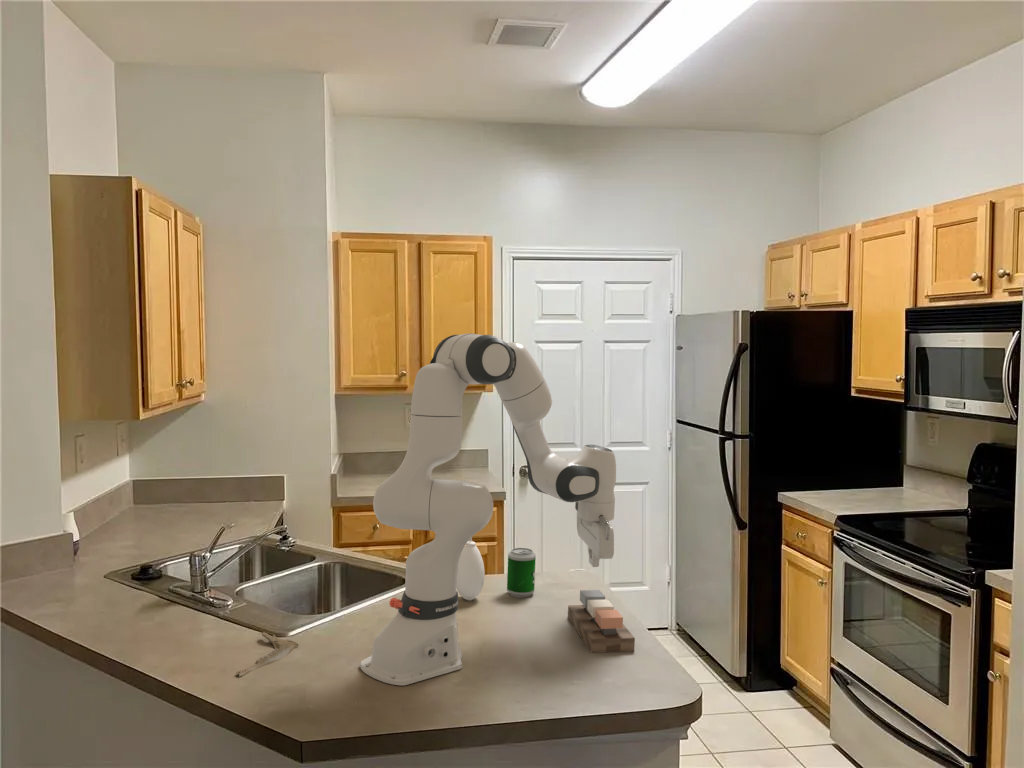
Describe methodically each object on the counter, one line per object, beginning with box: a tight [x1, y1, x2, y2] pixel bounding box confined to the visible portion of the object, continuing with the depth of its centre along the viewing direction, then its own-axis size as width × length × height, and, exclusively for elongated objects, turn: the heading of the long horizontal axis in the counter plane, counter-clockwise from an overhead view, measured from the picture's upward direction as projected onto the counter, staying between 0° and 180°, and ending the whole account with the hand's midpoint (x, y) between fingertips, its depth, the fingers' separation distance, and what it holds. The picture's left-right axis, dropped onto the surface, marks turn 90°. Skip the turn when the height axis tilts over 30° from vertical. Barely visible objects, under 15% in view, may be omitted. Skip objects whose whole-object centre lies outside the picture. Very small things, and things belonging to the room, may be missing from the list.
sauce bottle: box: [456, 536, 486, 601], centre depth 208 cm, size 8×8×18 cm
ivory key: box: [587, 598, 615, 624], centre depth 188 cm, size 5×5×6 cm
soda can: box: [506, 547, 537, 598], centre depth 214 cm, size 8×8×12 cm
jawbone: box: [235, 631, 299, 678], centre depth 169 cm, size 9×20×2 cm, turn 3°
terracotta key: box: [595, 609, 624, 635], centre depth 181 cm, size 5×5×6 cm
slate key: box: [579, 589, 606, 613], centre depth 195 cm, size 5×5×6 cm
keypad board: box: [567, 604, 636, 654], centre depth 188 cm, size 22×10×3 cm, turn 10°
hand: (593, 565), depth 195 cm, fingers closed
